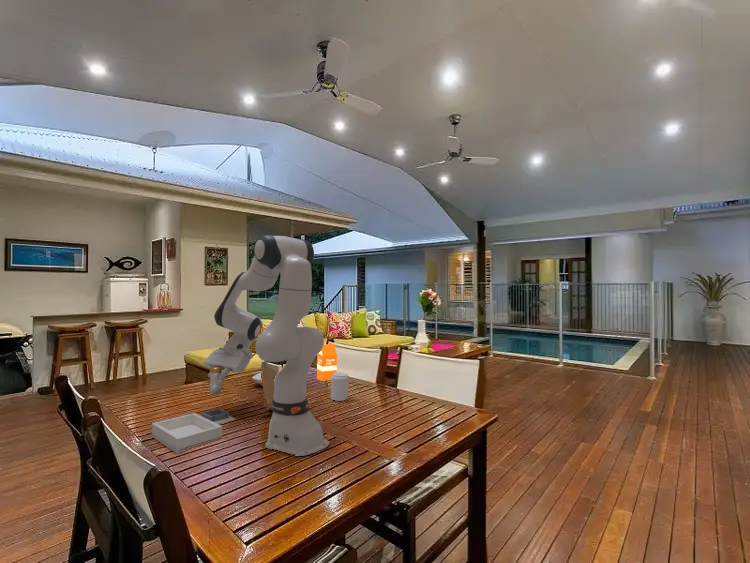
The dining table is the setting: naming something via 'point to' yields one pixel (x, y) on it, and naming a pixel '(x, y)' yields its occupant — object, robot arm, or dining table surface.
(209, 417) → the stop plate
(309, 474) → the dining table surface
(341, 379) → the beverage can
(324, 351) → the orange juice
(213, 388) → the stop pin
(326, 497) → the dining table surface
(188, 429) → the tray
